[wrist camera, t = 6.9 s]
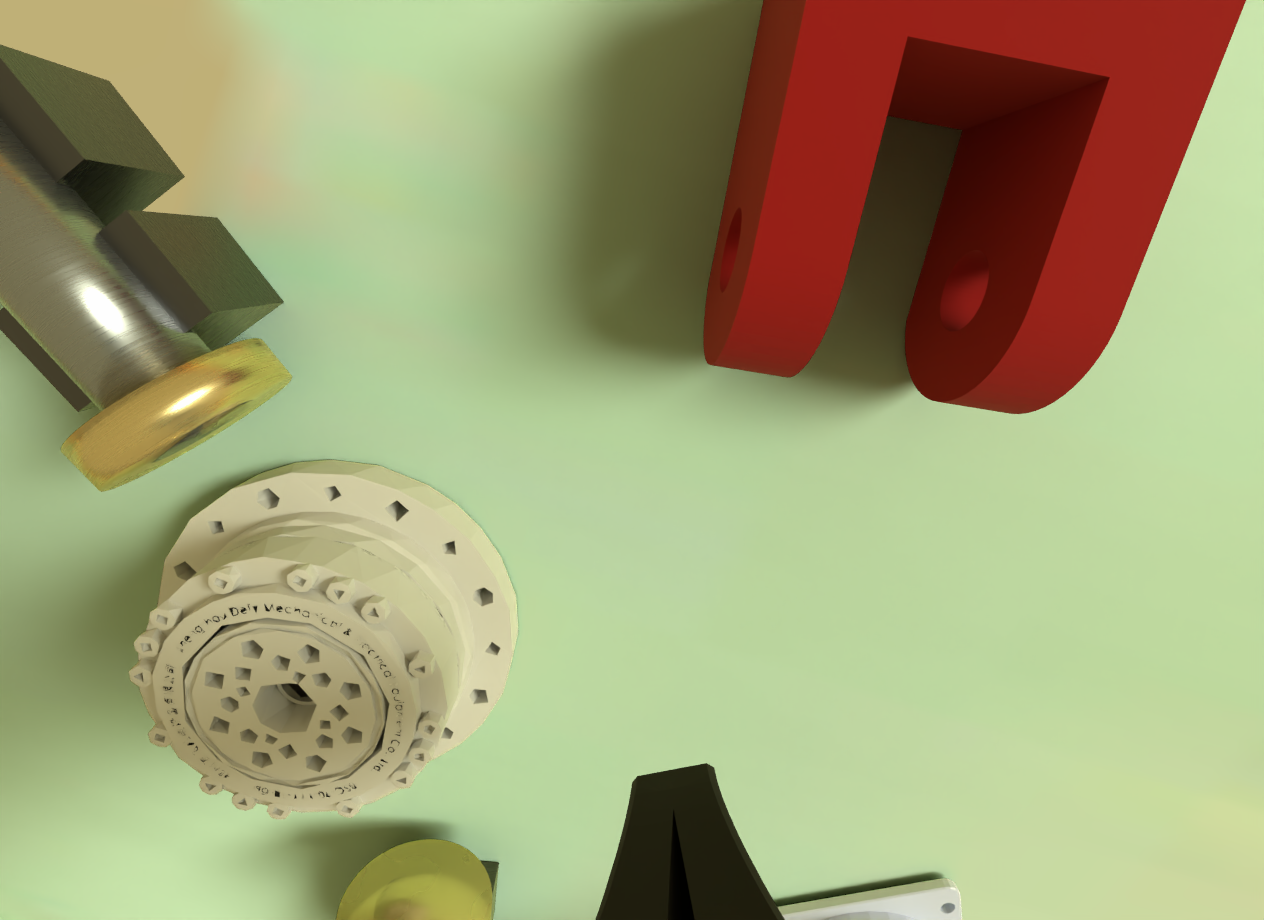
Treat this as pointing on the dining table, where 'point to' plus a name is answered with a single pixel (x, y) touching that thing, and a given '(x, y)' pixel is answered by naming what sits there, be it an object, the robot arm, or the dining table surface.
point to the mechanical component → (325, 637)
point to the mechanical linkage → (962, 178)
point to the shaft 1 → (120, 278)
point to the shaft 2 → (422, 885)
